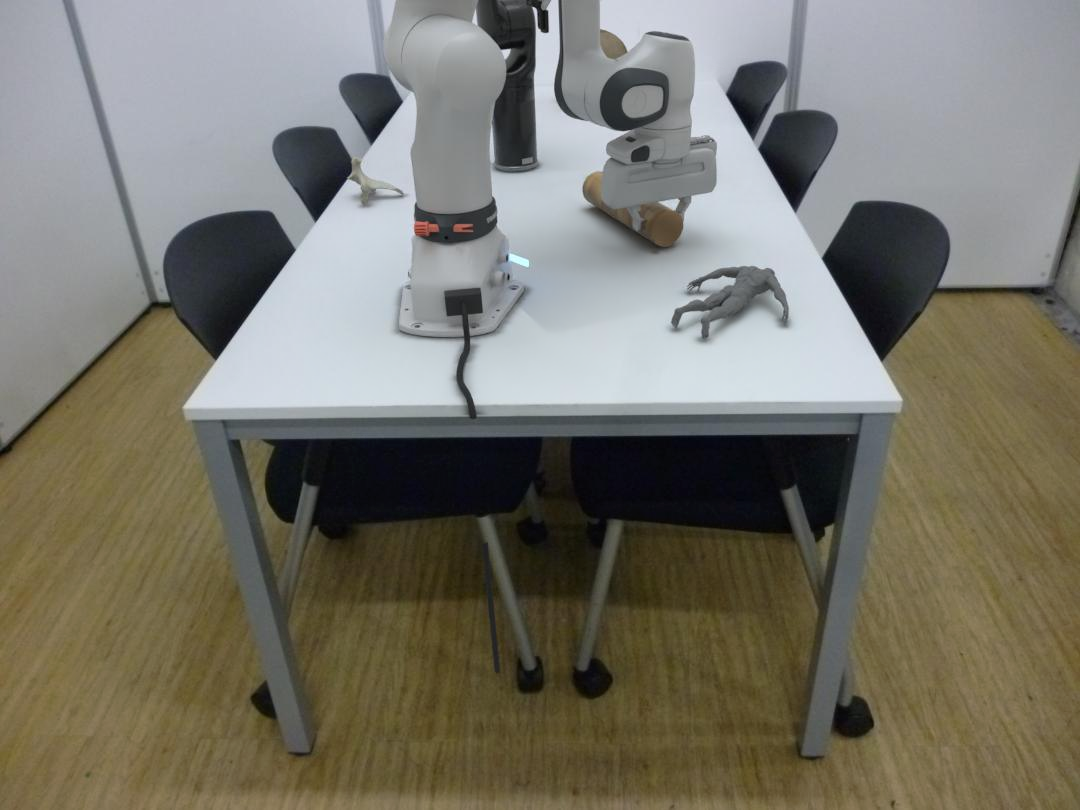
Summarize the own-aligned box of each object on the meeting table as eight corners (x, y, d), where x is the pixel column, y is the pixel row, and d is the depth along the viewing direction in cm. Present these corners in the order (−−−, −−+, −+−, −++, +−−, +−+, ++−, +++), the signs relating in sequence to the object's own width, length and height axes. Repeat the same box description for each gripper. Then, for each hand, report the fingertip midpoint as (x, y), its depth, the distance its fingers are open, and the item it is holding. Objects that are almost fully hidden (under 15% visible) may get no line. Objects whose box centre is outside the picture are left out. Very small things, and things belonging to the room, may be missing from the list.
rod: (682, 243, 140) (684, 208, 137) (650, 249, 138) (652, 214, 135) (610, 200, 160) (611, 169, 157) (582, 205, 158) (582, 173, 155)
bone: (366, 181, 160) (357, 148, 165) (348, 205, 163) (340, 171, 168) (409, 201, 166) (400, 168, 172) (391, 223, 170) (383, 190, 175)
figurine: (740, 358, 109) (821, 300, 120) (741, 330, 106) (824, 273, 117) (641, 319, 119) (723, 269, 130) (640, 293, 117) (725, 244, 128)
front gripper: (706, 129, 139) (699, 210, 146) (597, 145, 132) (596, 229, 139) (728, 137, 134) (720, 221, 141) (616, 155, 127) (614, 241, 134)
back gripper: (591, -77, 147) (591, 23, 156) (516, -72, 143) (521, 31, 151) (611, -76, 141) (610, 28, 150) (534, -70, 137) (538, 37, 145)
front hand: (657, 225), depth 140 cm, fingers closed on rod, 6 cm apart
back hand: (566, 30), depth 151 cm, fingers open, 8 cm apart
